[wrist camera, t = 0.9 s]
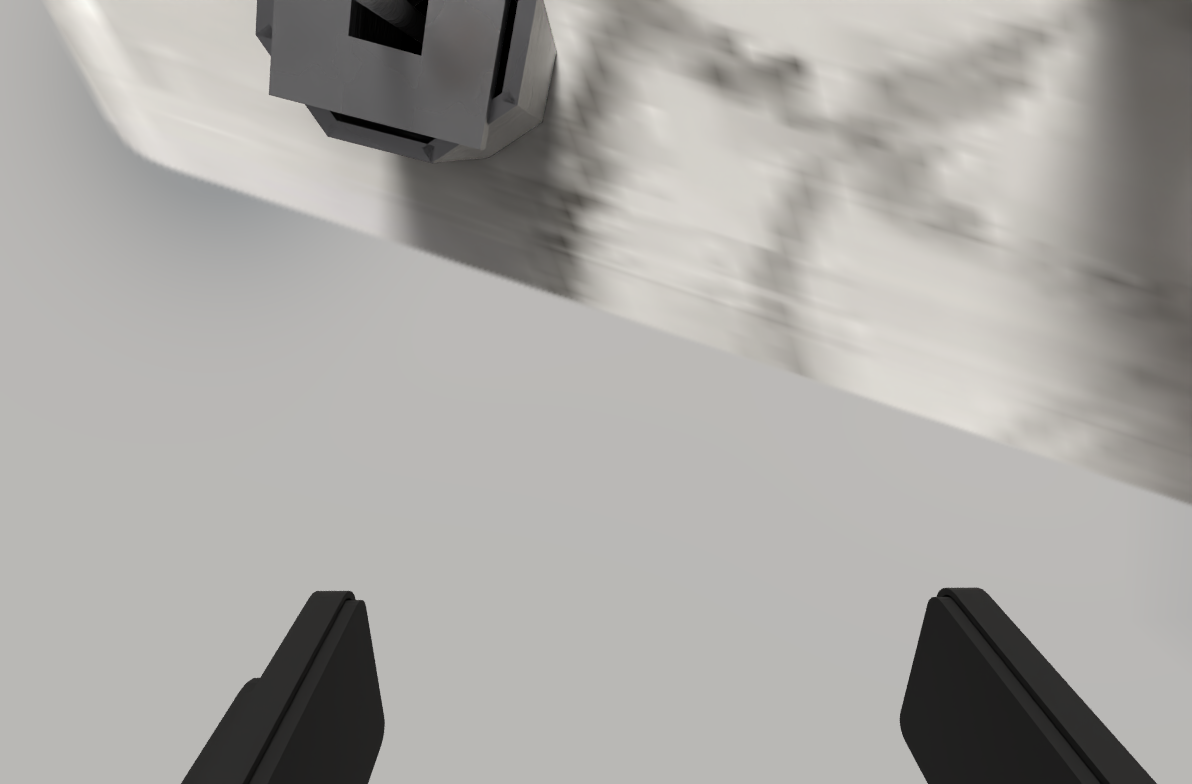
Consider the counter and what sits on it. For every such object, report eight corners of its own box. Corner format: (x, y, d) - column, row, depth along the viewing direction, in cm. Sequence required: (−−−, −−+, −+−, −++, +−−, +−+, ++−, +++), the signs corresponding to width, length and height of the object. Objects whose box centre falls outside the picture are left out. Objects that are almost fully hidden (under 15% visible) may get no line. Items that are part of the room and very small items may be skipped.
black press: (408, -119, 32) (258, -349, 17) (580, -67, 33) (578, -242, 18) (379, 129, 36) (240, 116, 21) (533, 168, 37) (500, 182, 22)
